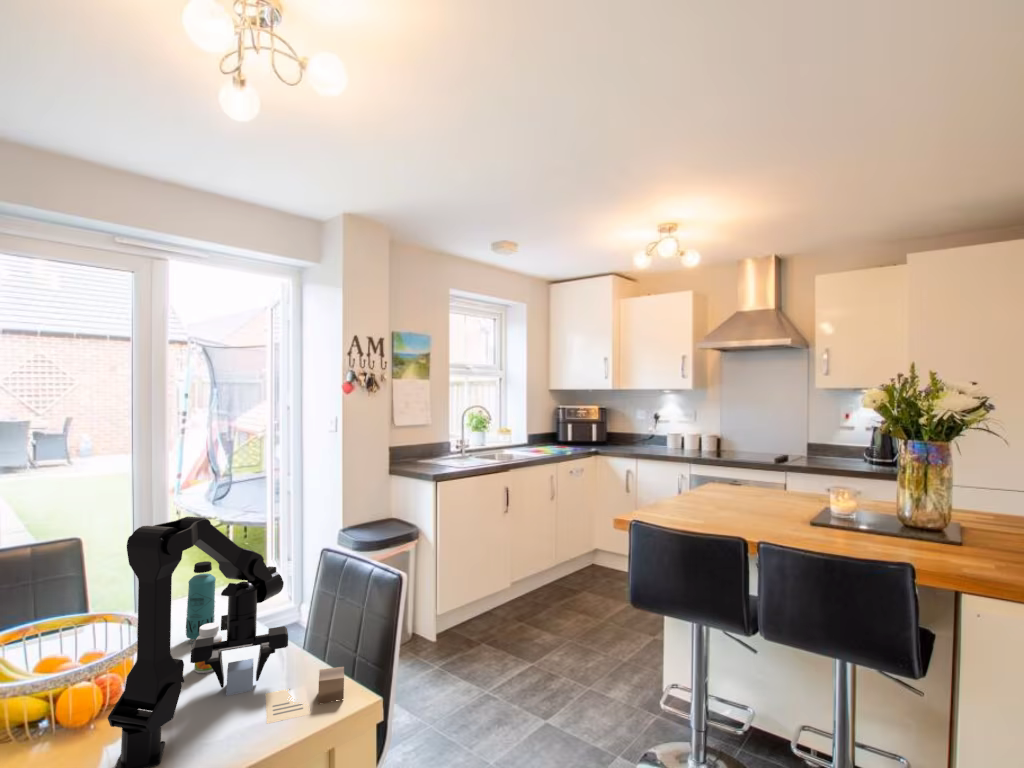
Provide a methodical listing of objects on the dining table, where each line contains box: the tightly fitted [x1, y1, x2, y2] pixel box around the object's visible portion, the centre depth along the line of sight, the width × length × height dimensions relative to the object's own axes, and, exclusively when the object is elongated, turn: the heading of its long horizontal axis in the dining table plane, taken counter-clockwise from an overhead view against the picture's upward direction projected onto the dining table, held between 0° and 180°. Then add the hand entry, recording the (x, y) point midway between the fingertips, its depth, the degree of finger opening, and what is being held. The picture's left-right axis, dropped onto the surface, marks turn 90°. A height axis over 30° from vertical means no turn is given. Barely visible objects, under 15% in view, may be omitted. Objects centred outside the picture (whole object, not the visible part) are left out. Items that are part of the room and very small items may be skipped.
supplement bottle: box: [194, 622, 223, 674], centre depth 126 cm, size 5×5×10 cm
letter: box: [265, 688, 311, 724], centre depth 111 cm, size 12×8×1 cm, turn 26°
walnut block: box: [317, 666, 345, 705], centre depth 114 cm, size 5×5×5 cm
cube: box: [226, 658, 254, 696], centre depth 117 cm, size 5×5×5 cm
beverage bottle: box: [185, 560, 216, 640], centre depth 141 cm, size 6×7×20 cm
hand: (239, 683), depth 117 cm, fingers open, 6 cm apart
